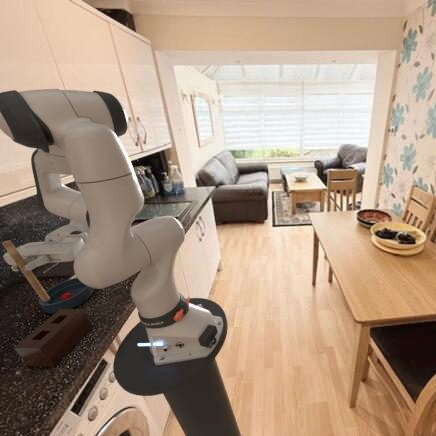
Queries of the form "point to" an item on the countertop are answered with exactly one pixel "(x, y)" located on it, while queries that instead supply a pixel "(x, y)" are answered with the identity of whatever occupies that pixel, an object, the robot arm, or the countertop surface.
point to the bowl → (69, 286)
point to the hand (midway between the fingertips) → (20, 269)
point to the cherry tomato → (66, 296)
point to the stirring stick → (28, 274)
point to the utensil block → (54, 338)
